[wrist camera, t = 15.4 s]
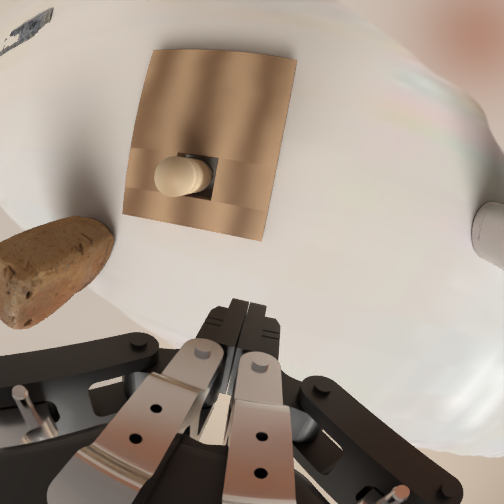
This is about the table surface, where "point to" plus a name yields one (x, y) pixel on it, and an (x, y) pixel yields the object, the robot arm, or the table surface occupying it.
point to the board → (211, 136)
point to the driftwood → (29, 29)
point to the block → (49, 267)
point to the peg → (182, 176)
